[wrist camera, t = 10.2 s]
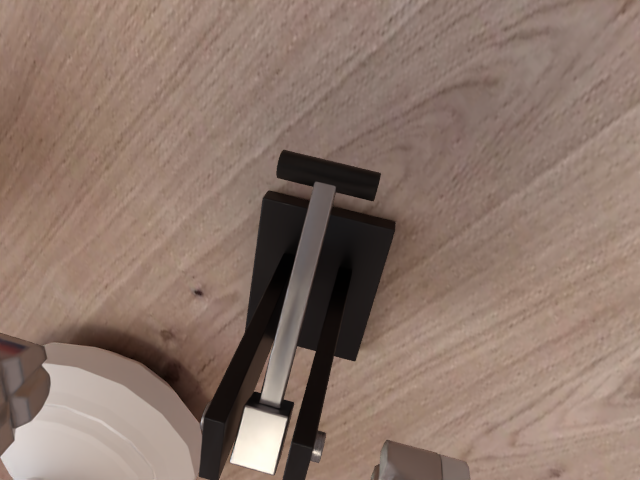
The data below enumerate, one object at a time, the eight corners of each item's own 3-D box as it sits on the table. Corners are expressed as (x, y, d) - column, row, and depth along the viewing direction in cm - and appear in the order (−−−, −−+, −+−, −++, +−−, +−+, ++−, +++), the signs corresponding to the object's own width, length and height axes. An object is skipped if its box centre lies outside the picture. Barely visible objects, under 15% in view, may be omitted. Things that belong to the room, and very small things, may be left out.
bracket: (267, 189, 33) (160, 341, 19) (395, 221, 32) (380, 401, 18) (249, 322, 39) (158, 509, 25) (357, 350, 38) (323, 558, 24)
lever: (286, 155, 25) (280, 144, 23) (379, 177, 25) (382, 168, 22) (214, 436, 25) (200, 455, 22) (307, 462, 24) (303, 485, 22)
